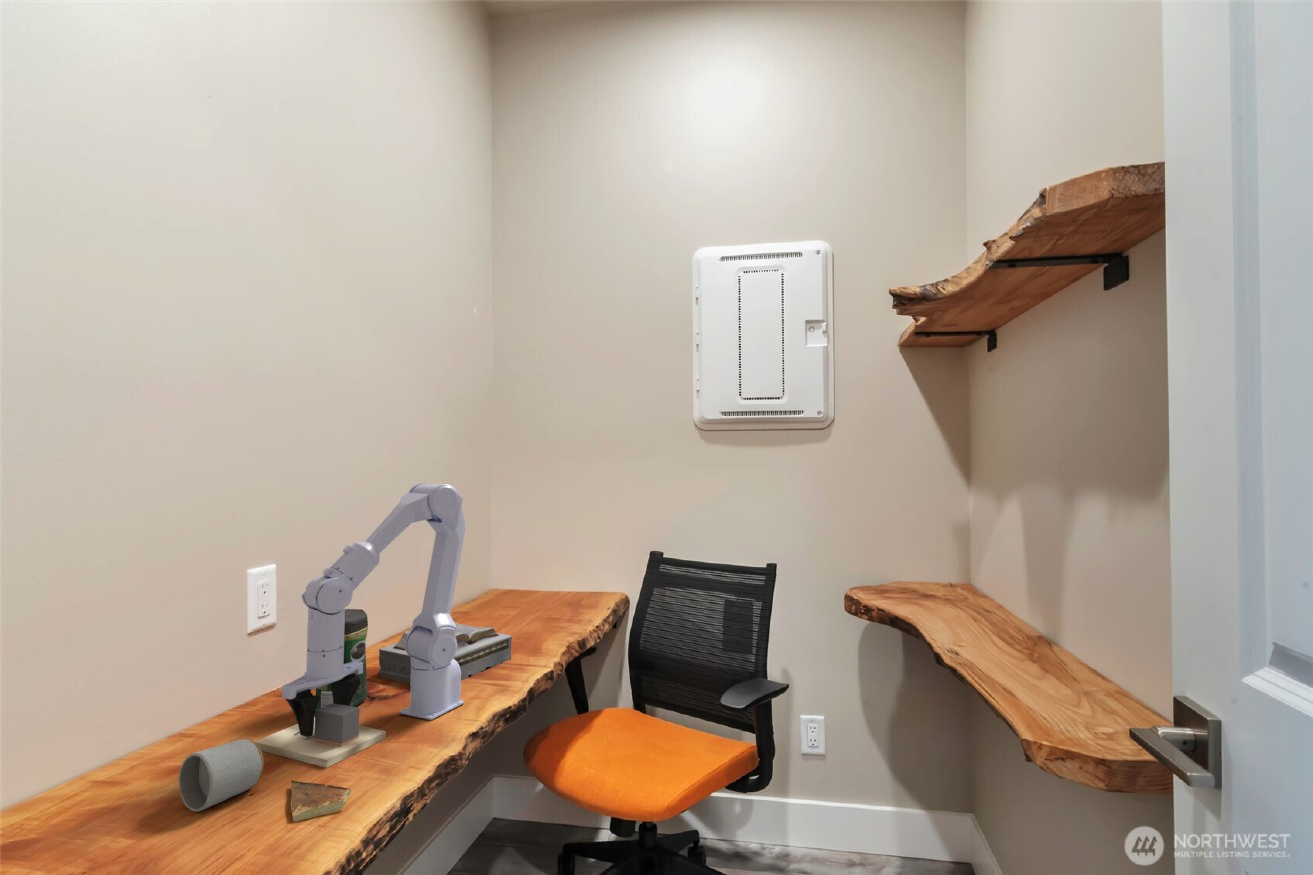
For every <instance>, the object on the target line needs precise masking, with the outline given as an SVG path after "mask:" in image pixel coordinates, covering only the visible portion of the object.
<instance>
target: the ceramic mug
mask: <svg viewBox="0 0 1313 875" xmlns="http://www.w3.org/2000/svg"><path fill="white" fill-rule="evenodd" d="M262 752H263V751H261V750H260V748H259V747H258V745H257V744H256V743H255V742H254V740H251V739H248V738H247V739H245V738H244V739H243V738H242V739H236V740H233V741H230V742H227V743H224V744H220V745H216V746H212V747H209V748H206V749H203V750H198V751H195V752H193V753H191V754H189V755H188V756H186V757H185V759H184V760H183V761H182V764H181V766H180V769H179V774H178V787H179V794H180V797H181V801H182V802H183V804H184V805H185V807H187V809H188V810H190V811H192V812H195V813H198V812H202V811H205V810H206V809H209V808H211V807H213V806H215V805H218V804H220V803H222V802H224V801H226V800H228V799H230V798H233V797H235V796H238V795H240V794H242V793H245V792H246V791H248V790H250V789H251V788H253V787H254V786H255V785H257V784H258V782H259V781H260V779H261V777H262V774H263V772H264V756H263V753H262Z"/></svg>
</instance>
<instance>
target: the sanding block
mask: <svg viewBox="0 0 1313 875" xmlns="http://www.w3.org/2000/svg"><path fill="white" fill-rule="evenodd" d="M360 709H361V708H360V707H356V706H355V707H352V706H346V705H340V704H334V703H332V704H329V705H327V706H325V707H322V708H320V709H318V710H316V711H315V732H314V741H319V742H324V743H329V744H334V745H339V746H343V745H345V744H347V743H349V742H351V741H353V740H355V739H357V738H359V725H360Z"/></svg>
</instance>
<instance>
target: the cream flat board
mask: <svg viewBox="0 0 1313 875" xmlns="http://www.w3.org/2000/svg"><path fill="white" fill-rule="evenodd" d="M314 732H315V717H314V730H313V735H312V736H310V737H306V736H302V735H300V730H299V726H298V723H297V724H294V725H292V726H288V727H287V728H283V729H282V730H279V731H276V732H274V733H271V734H270V735H266V736H265V737H264V736H263V737H262V738H260V739H256V740H255V741H254V740H253V741H254V742H255V743H256V744H257V745H258V747H259V748H260V750H261V752H264V753H268V754H272V755H275V756H280V757H284V758H287V759H291V760H296V761H298V762H299V761H300V762H303V763H307V764H311V765H314V766H318V767H322V768H329V767H331V766H333V765H334V764H337V763H339V762H341V761H342V760H346V759H347V758H349V757H351V756H353V755H355V754H357V753H359V752H361V751H363V750H365V749H367V748H369V747H371V746H373V745H375V744H378V743H379V742H382V741H383V740H385V739H386V738H387V737H386V736H387V731H386V730H383V729H377V728H372V727H368V726H363V725H360V724H359V738H357V739H355V740H353V741H351V742H349V743H347V744H345V745H343V746H339V745H334V744H329V743H324V742H319V741H314Z"/></svg>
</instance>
